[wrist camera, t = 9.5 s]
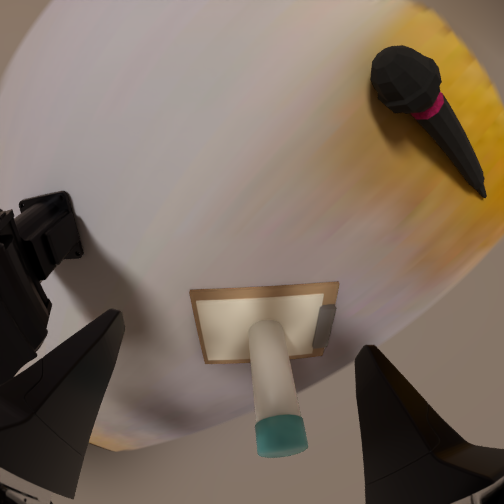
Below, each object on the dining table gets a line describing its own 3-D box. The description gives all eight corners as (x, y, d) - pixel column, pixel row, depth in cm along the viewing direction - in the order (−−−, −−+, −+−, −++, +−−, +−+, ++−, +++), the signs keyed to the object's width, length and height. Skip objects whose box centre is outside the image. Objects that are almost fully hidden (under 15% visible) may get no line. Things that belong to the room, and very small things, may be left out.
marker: (257, 348, 29) (270, 460, 17) (240, 328, 27) (248, 451, 16) (289, 335, 28) (314, 449, 17) (274, 313, 26) (298, 439, 15)
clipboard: (205, 361, 30) (204, 368, 29) (189, 289, 25) (188, 297, 24) (321, 353, 31) (323, 360, 30) (338, 281, 25) (341, 288, 24)
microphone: (470, 172, 23) (365, 43, 15) (509, 179, 18) (418, 24, 10) (459, 211, 24) (344, 89, 16) (499, 223, 19) (405, 73, 11)
